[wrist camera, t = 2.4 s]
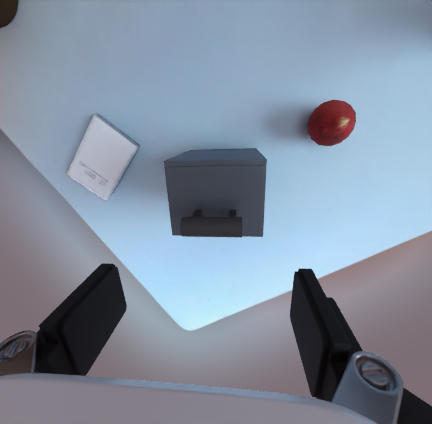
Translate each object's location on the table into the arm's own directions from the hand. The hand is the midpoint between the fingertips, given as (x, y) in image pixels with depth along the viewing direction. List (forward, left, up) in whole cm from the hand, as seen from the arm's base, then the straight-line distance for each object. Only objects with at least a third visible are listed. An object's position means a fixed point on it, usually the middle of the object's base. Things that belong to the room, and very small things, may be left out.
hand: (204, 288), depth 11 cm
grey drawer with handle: (-4, +3, -19) cm, 19 cm away
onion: (+6, +15, -29) cm, 33 cm away
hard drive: (-19, -12, -29) cm, 36 cm away
